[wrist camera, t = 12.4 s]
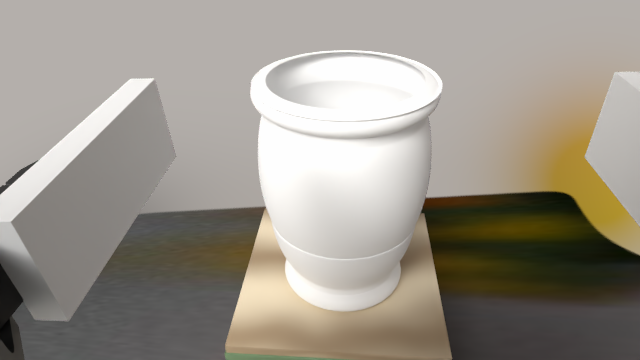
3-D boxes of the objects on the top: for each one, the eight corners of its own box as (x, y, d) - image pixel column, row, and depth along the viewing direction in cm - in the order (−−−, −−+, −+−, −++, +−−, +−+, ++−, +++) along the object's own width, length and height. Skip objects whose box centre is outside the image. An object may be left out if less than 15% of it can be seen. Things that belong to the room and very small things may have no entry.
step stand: (446, 515, 27) (471, 446, 22) (223, 497, 28) (199, 427, 23) (414, 284, 43) (425, 212, 38) (272, 278, 44) (264, 207, 39)
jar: (417, 234, 36) (442, 52, 27) (410, 341, 27) (442, 126, 19) (293, 217, 38) (280, 44, 29) (251, 312, 30) (216, 108, 21)
